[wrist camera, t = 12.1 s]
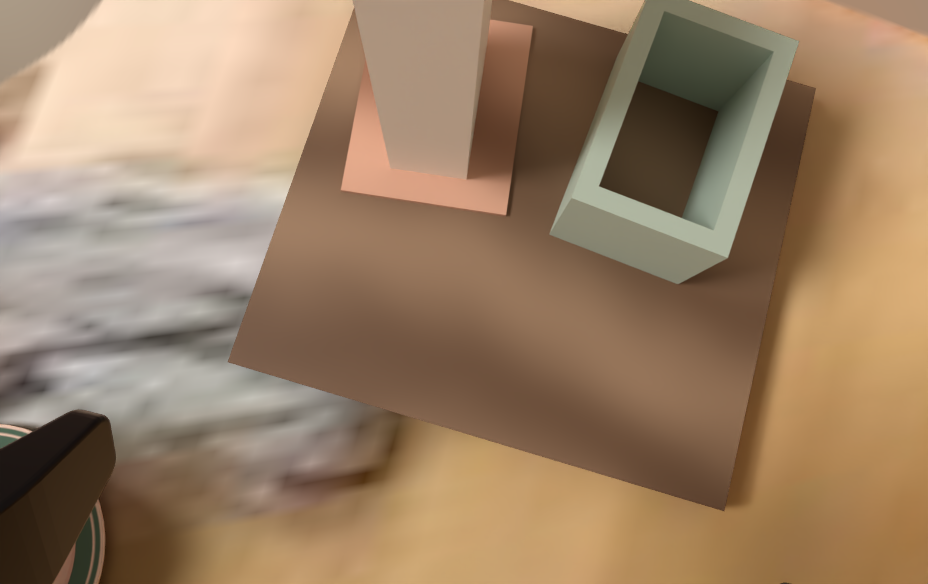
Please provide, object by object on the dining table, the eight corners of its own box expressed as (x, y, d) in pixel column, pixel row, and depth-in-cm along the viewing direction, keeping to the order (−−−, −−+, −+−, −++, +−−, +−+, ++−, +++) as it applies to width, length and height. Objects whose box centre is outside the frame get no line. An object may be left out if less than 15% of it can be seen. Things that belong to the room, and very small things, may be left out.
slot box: (677, 284, 22) (727, 257, 18) (549, 234, 23) (571, 197, 19) (739, 102, 24) (799, 41, 20) (617, 56, 24) (651, -14, 20)
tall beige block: (466, 179, 23) (490, -71, 11) (390, 168, 23) (331, -95, 11) (487, 45, 23) (530, -324, 12) (413, 33, 23) (383, -346, 12)
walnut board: (711, 506, 22) (726, 511, 21) (237, 364, 22) (225, 361, 21) (800, 100, 25) (817, 86, 24) (373, -22, 25) (370, -42, 24)
